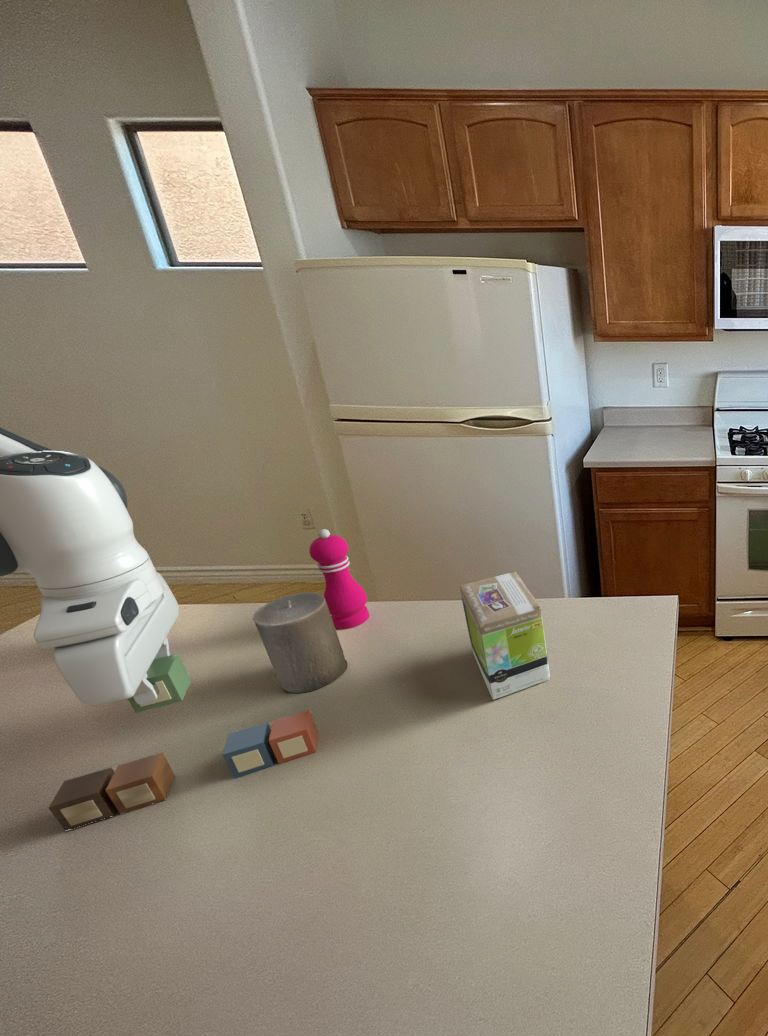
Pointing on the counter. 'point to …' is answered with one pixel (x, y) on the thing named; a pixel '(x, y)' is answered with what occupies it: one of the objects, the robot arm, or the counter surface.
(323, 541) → the pepper mill
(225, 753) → the slate blue letter block
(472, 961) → the counter surface
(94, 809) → the walnut letter block
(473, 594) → the tea box
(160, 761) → the teak letter block
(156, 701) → the sage green letter block
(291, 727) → the terracotta letter block
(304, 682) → the pillar candle
